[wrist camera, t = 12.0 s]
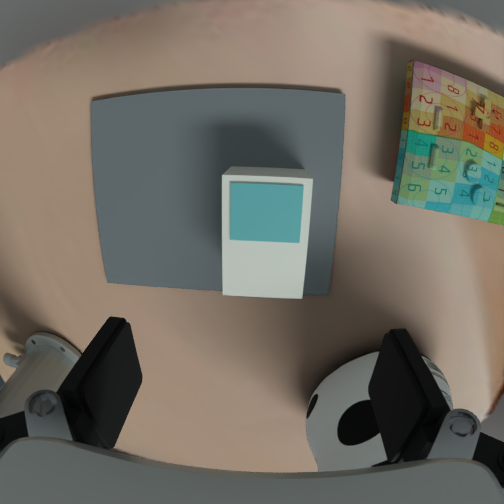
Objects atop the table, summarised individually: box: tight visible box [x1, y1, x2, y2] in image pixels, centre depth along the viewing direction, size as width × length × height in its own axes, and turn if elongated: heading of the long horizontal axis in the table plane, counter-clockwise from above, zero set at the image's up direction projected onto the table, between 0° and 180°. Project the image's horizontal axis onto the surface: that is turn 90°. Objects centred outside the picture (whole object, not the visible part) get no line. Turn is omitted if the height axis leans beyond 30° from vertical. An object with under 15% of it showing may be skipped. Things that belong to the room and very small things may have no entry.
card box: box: [222, 166, 313, 299], centre depth 24 cm, size 9×6×5 cm, turn 178°
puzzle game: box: [391, 60, 504, 225], centre depth 21 cm, size 12×5×20 cm
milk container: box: [306, 351, 454, 472], centre depth 26 cm, size 17×17×18 cm
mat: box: [91, 88, 345, 295], centre depth 26 cm, size 22×18×1 cm
